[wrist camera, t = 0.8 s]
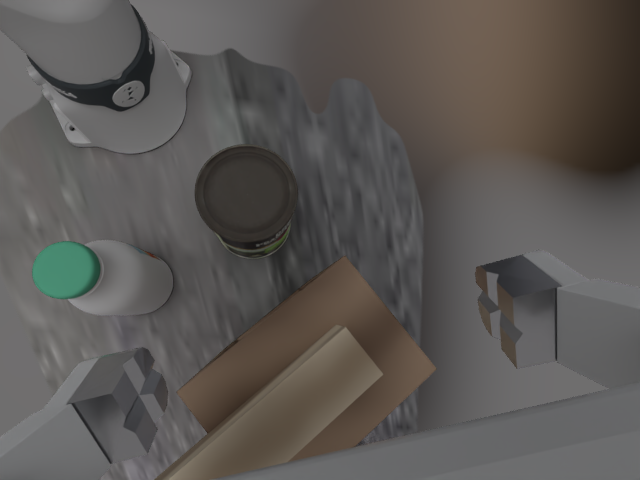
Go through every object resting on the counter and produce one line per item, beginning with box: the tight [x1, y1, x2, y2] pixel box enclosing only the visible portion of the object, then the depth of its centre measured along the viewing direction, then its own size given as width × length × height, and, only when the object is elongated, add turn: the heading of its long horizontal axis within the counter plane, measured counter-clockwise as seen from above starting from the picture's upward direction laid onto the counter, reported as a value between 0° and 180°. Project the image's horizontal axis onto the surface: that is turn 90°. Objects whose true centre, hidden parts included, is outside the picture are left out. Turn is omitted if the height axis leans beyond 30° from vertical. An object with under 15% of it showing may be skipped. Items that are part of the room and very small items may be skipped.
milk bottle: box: [32, 240, 173, 316], centre depth 40 cm, size 8×8×20 cm
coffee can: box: [195, 144, 298, 259], centre depth 46 cm, size 10×10×14 cm
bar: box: [154, 325, 383, 480], centre depth 23 cm, size 4×19×4 cm, turn 129°
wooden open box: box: [177, 256, 436, 462], centre depth 38 cm, size 10×14×26 cm
